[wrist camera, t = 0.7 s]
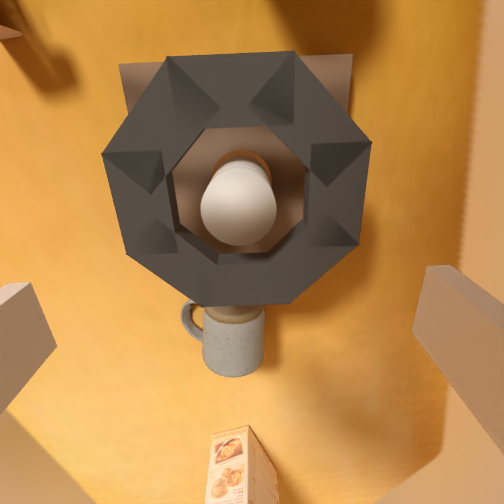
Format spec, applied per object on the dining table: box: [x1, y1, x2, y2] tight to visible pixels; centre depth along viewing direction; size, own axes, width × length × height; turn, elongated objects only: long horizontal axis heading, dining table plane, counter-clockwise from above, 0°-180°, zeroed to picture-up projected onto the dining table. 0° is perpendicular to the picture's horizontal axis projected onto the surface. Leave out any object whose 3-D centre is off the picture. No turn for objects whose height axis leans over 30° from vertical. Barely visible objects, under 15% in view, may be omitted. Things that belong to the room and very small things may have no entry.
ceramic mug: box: [181, 299, 265, 377], centre depth 35 cm, size 11×8×8 cm
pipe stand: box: [118, 53, 353, 254], centre depth 25 cm, size 20×20×13 cm
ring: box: [101, 50, 372, 308], centre depth 22 cm, size 18×18×2 cm
